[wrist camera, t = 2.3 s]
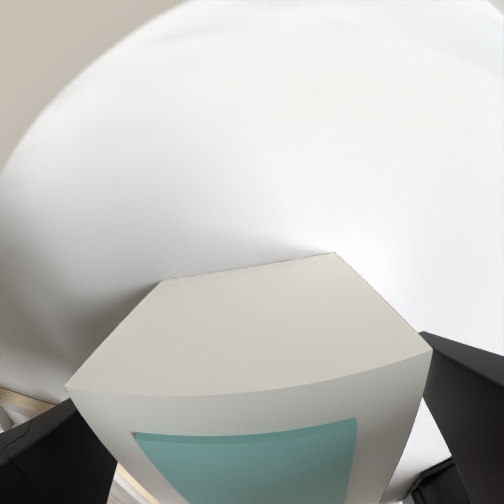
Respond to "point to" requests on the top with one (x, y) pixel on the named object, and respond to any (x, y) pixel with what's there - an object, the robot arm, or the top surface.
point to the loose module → (258, 387)
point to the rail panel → (24, 408)
